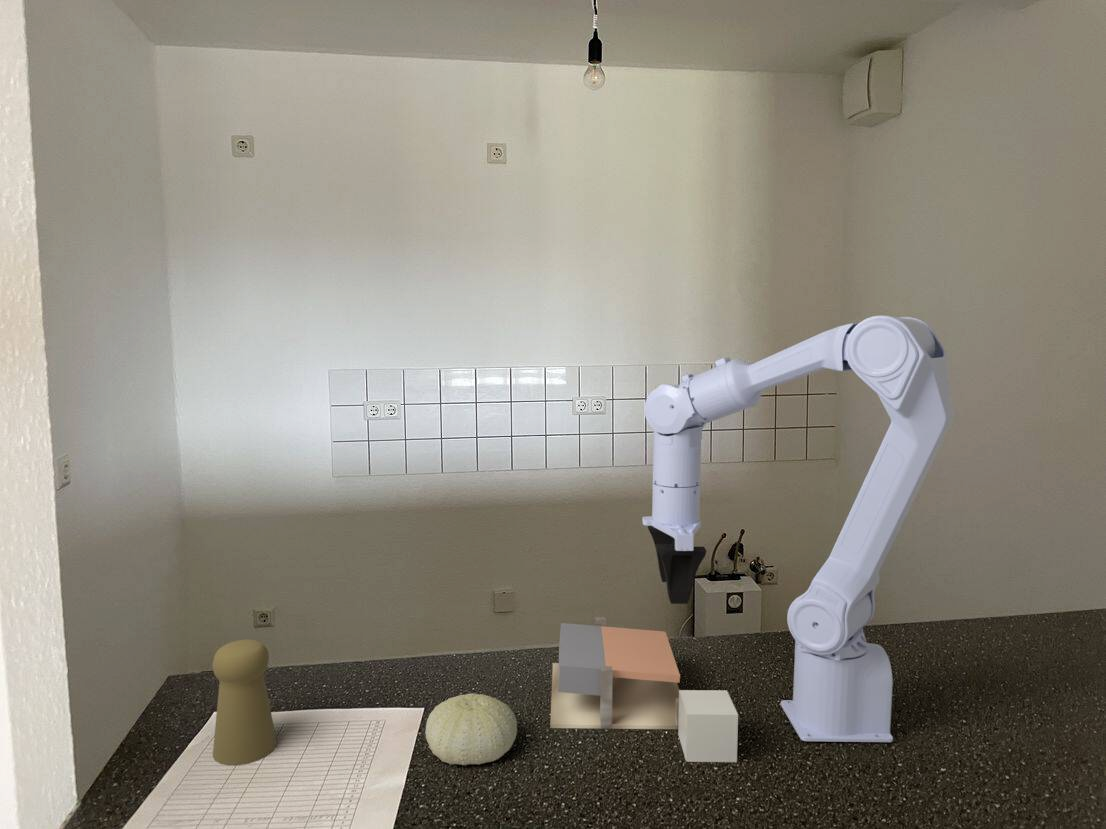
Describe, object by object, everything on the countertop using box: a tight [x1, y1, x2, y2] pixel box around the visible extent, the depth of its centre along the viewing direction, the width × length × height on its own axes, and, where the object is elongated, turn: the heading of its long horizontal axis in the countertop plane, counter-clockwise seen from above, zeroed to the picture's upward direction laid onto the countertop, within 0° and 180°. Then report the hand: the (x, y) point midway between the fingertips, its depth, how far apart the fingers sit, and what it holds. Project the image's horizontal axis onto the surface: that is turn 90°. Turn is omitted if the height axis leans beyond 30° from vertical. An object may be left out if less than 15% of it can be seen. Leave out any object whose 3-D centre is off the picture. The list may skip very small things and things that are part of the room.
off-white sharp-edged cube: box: [677, 689, 739, 763], centre depth 76 cm, size 5×5×5 cm
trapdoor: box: [558, 622, 681, 696], centre depth 87 cm, size 13×12×3 cm
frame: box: [549, 616, 680, 730], centre depth 87 cm, size 15×15×6 cm
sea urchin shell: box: [424, 692, 518, 766], centre depth 76 cm, size 9×8×8 cm
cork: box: [212, 639, 277, 766], centre depth 75 cm, size 6×6×11 cm
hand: (674, 591), depth 92 cm, fingers open, 7 cm apart
